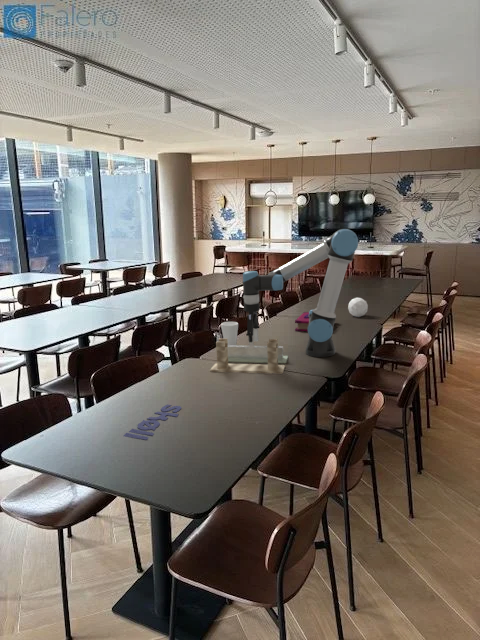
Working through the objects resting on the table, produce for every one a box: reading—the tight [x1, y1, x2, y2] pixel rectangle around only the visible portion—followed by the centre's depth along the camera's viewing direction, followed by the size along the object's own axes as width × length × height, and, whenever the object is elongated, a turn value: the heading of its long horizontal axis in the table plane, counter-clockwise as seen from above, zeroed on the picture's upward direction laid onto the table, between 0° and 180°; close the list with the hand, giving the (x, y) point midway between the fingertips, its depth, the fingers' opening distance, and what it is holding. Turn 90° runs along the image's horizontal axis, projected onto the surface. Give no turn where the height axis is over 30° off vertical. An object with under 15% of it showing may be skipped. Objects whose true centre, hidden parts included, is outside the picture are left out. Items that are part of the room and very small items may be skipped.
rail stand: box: [209, 337, 286, 375], centre depth 222 cm, size 34×10×14 cm, turn 79°
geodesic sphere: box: [347, 297, 369, 318], centre depth 331 cm, size 14×14×14 cm
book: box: [294, 311, 309, 333], centre depth 304 cm, size 21×28×8 cm
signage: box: [123, 403, 183, 441], centre depth 170 cm, size 28×1×10 cm
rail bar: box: [228, 344, 284, 359], centre depth 238 cm, size 30×3×6 cm, turn 79°
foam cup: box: [220, 321, 239, 345], centre depth 264 cm, size 10×9×13 cm
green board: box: [228, 355, 289, 364], centre depth 239 cm, size 34×10×1 cm, turn 79°
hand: (253, 344), depth 238 cm, fingers open, 13 cm apart
